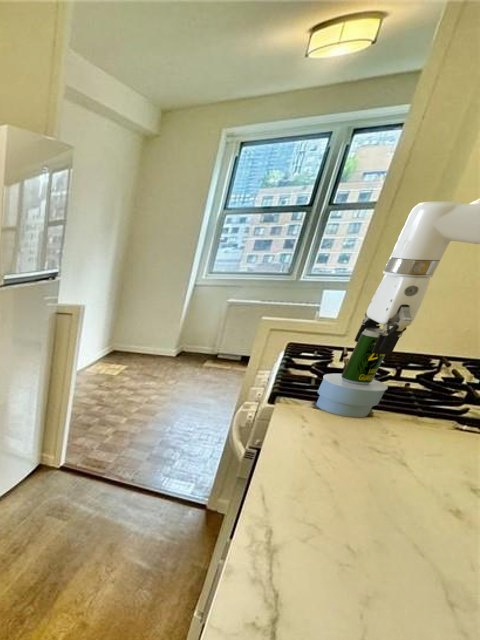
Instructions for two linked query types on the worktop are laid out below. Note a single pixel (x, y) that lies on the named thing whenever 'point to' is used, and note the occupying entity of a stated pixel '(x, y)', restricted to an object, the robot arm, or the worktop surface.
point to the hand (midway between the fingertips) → (371, 347)
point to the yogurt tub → (348, 396)
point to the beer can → (363, 359)
